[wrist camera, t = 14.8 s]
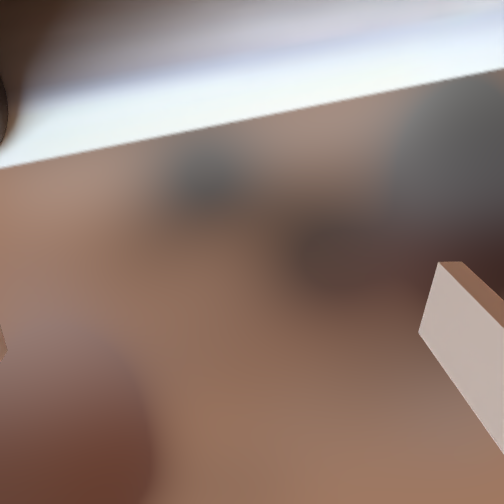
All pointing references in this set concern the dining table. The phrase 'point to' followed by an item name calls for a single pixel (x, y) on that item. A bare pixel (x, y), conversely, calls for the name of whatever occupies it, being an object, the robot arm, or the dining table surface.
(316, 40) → the dining table surface
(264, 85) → the dining table surface
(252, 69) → the dining table surface
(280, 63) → the dining table surface
